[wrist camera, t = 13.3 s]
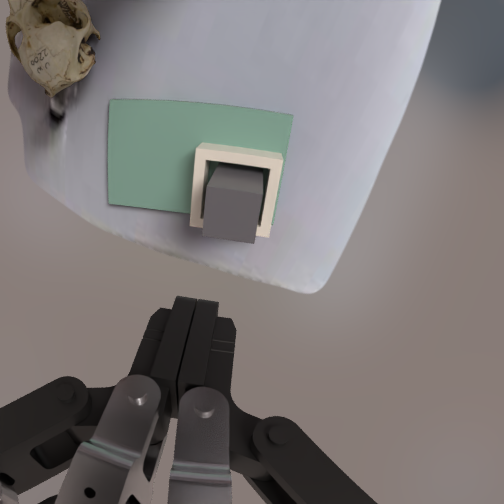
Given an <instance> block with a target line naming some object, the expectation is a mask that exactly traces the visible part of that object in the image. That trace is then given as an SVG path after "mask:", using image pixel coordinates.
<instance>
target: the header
mask: <svg viewBox="0 0 504 504" xmlns="http://www.w3.org/2000/svg"><path fill="white" fill-rule="evenodd" d="M210 160H211V161H220V162H227V163H235V164H242V165H249V166H256V167H262V168H269V170H268V176H267V181H266V187H265V193H264V199H263V205H262V211H261V215H259V219H258V225H257V230H256V236H262V237H269V234H270V228H271V223H272V218H273V213H274V207H275V202H276V197H277V191H278V186H279V181H280V175H281V170H282V165H283V157H282V153H276V152H270V151H264V150H257V149H250V148H243V147H236V146H228V145H220V144H212V143H203V142H202V143H201V144H200V145H199V146H198V147H197V148H196V153H195V164H194V175H193V187H192V200H191V215H190V226H192V227H199V228H203V218H204V208H205V197H206V188H207V183H208V173H209V164H210Z"/></svg>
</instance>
